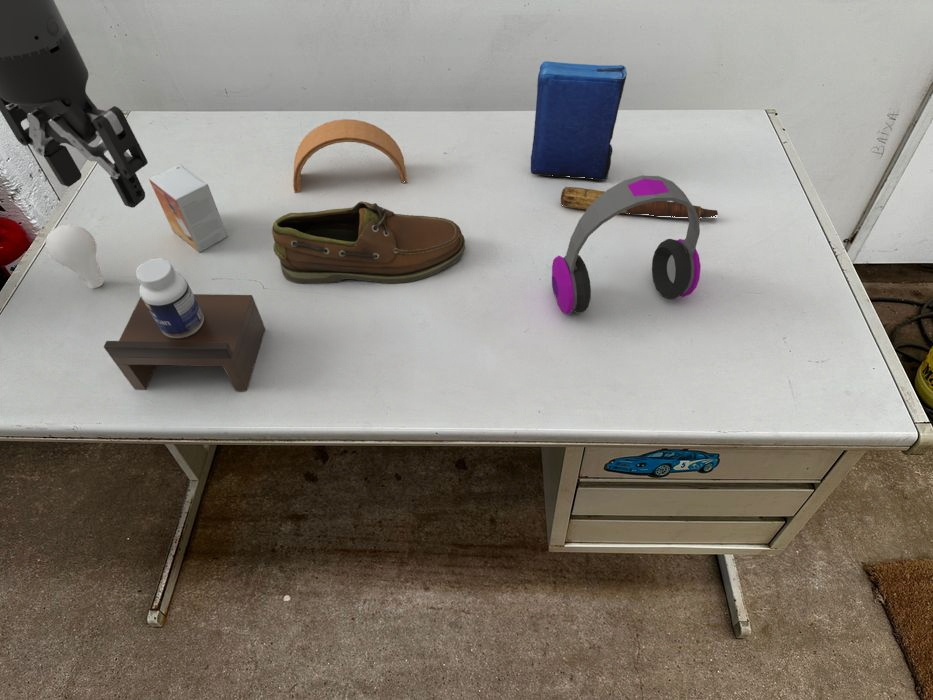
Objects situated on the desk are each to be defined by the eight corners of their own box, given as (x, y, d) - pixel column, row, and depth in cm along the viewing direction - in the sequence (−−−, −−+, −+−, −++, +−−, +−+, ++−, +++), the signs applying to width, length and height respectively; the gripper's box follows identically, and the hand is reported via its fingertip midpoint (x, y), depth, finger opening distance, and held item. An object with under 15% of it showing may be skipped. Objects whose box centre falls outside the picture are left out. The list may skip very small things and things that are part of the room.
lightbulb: (94, 268, 95) (58, 211, 87) (127, 276, 94) (93, 220, 86) (67, 295, 92) (26, 238, 83) (101, 304, 91) (63, 247, 82)
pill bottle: (152, 332, 78) (118, 277, 70) (180, 304, 81) (150, 248, 73) (186, 345, 76) (155, 290, 69) (213, 316, 80) (187, 260, 72)
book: (608, 168, 112) (630, 60, 96) (608, 186, 109) (631, 77, 93) (530, 162, 113) (540, 54, 98) (528, 179, 110) (538, 70, 94)
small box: (172, 231, 101) (146, 178, 93) (202, 216, 103) (179, 162, 95) (199, 254, 97) (174, 200, 89) (229, 237, 100) (208, 183, 92)
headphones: (559, 328, 87) (579, 218, 72) (543, 286, 93) (558, 174, 77) (694, 308, 90) (742, 197, 74) (670, 267, 95) (710, 156, 80)
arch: (295, 173, 111) (283, 123, 103) (405, 164, 113) (400, 114, 105) (294, 192, 107) (281, 142, 100) (407, 183, 109) (402, 133, 101)
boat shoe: (472, 273, 95) (472, 222, 87) (282, 302, 91) (265, 252, 83) (458, 230, 101) (457, 179, 93) (280, 255, 97) (264, 205, 90)
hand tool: (560, 197, 106) (563, 182, 104) (714, 216, 103) (720, 201, 101) (558, 210, 104) (561, 195, 102) (715, 230, 101) (722, 214, 99)
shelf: (162, 327, 88) (135, 282, 81) (265, 328, 87) (248, 284, 80) (134, 389, 81) (103, 346, 74) (246, 391, 81) (226, 348, 74)
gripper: (-85, 34, 50) (24, 195, 63) (44, 69, 47) (132, 232, 60) (-9, -1, 55) (79, 157, 67) (115, 29, 51) (183, 189, 64)
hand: (104, 192), depth 64 cm, fingers open, 8 cm apart
